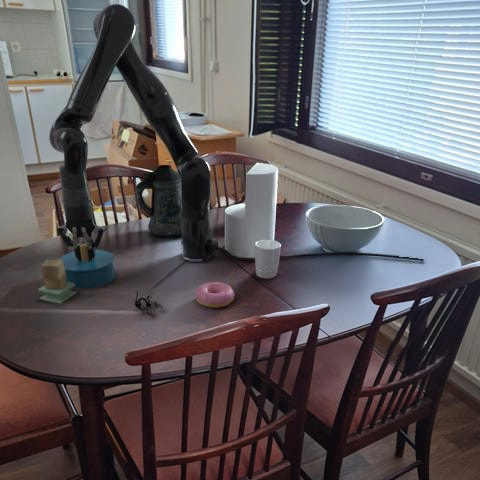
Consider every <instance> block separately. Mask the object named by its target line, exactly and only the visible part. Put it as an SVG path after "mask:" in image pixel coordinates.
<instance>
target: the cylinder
mask: <svg viewBox="0 0 480 480" xmlns="http://www.w3.org/2000/svg"><path fill="white" fill-rule="evenodd" d="M278 179H279V168H278V167H277V166H276V165H273V164H270V163H264V162H256V163H255V164H254V165H253V166H252V167H251V168H250V169H249V170H248V171H247V172H246V173H245V192H246V195H244V196H245V197H244V198H245V199H244V201H245V204H242V203H238V204H237V203H236V204H232V205H229V206H227V207H226V208H225V209H224V249H225V250H227V251H228V252H229V253H230V254H231V255H233V256H236V257H241V258H255V243H256V242H257V241H260V240H274V241H275V232H276V231H275V230H276V215H277V214H276V213H277V197H278V182H279V181H278Z"/></svg>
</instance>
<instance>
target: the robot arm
mask: <svg viewBox="0 0 480 480" xmlns="http://www.w3.org/2000/svg"><path fill="white" fill-rule="evenodd" d="M92 29H93V34H94V36H95V39H96V40H97V41H96V43H95V45H94V49H93V51H92V53H91V55H90V56H89V59H88V60H87V62H86V64H85V65H84V68H83V69H82V71H81V73H80V74H79V76H78V77H77V79H76V81H75V83H74V86H73V88H72V91H71V92H70V95H69V98H68V99H67V102H66V105H65V107H64V108H63V109H62V110H61V111H60V113H59V115H57V118H56V119H55V120H54V121H53V124H52V125H51V128H50V130H49V133H48V134H49V135H48V141H49V144H50V146H51V147H52V149H54V150H55V151H57V152H59V153H63V163H62V164H60V165H59V168H58V172H59V173H58V174H59V178H60V179H59V181H60V185H61V198H62V204H63V211H64V217H65V223H64V224H62V225H59V226H58V227H57V230H56V231H57V233H58V234H59V235H60V237H61V238H62V240H63V242H64V244H65V245H66V246H67V247H70V248H73V252H75V257H76V258H78V260H81V255H80V249H79V245H80V244H81V243H80V242H81V238H84V241H85V243H86V244H87V245H88V248H89V249H88V252H89V259H90V260H93V259H94V258H95V250H96V248H98V247H99V246H100V245H101V243H102V239H103V236H104V234H105V232H106V231H105V230H106V227H105V226H103V225H102V226H100V225H98V224H97V223H96V221H95V219H94V210H93V203H92V197H91V191H90V187H89V182H88V181H89V180H88V174H87V164H88V155H89V143H88V140H87V137H86V135H85V132H83V131H82V127H83V126H84V125H86V124H89V123H91V122H92V120H93V119H94V117H95V114H96V112H97V109H98V107H99V105H100V102H101V100H102V97H103V95H104V93H105V90H106V87H107V85H108V83H109V81H110V78H111V76H112V74H113V73H114V70H115V68H116V69H117V70H118V72H119V73H120V75H121V78H122V79H123V81H124V83H125V85H126V87H127V88H128V90H129V92H130V93H131V95H132V97H133V99H134V100H135V102H136V104H137V106H138V108H139V109H140V111H141V112H142V114H143V117H145V120H146V121H147V123H148V124H149V126H150V127H151V128H152V130H153V131H154V132H155V134H156V135H157V137H158V138H159V139H160V141H161V142H162V143H163V144H164V146H165V148H166V149H167V151H168V153H169V155H170V157H171V159H172V161H173V163H174V165H175V168H176V170H177V171H176V172H177V173H179V175H180V177H181V200H180V204H181V228H182V238H181V241H180V245H181V247H182V248H181V250H182V253H181V254H182V255H181V256H182V259H184V260H185V261H186V262H188V263H189V262H190V263H206V262H207V261H208V260H210V259H211V258H212V257H213V255H214V254H215V253H216V252H218V251H221V252H222V253H225V254H226V255H227V256H228V257H229V258H231V259H234V260H239V261H247V262H248V261H250V262H252V261H253V262H255V258H241V257H236V256H233V255H231V254H230V253H229V252H228V251H227V250H225V248H223V247H221V246H219V240H214V239H213V229H212V228H210V227H211V225H210V224H211V223H210V222H211V221H210V203H211V197H212V170H211V167H210V165H209V163H208V162H207V161H206V160H205V159H204V157H203V156H202V155H201V153H200V152H199V151H198V150H197V149H196V147H195V146H194V144H193V142H192V141H191V140H190V137H189V136H188V134H187V132H186V129H185V127H184V124H183V121H182V118H181V115H180V112H179V111H178V109H177V106H176V105H175V102H174V100H173V98H172V97H171V95H170V93H169V91H168V90H167V88H166V86H165V85H164V83H163V82H162V81H161V80H160V78H159V77H158V76H157V75H156V74H155V73H154V72H153V71H152V70H151V69H150V68H149V67H148V66H147V65H146V64H145V63H144V61H143V60H142V59H141V57H140V55H139V54H138V52H137V50H136V48H135V46H134V44H133V42H132V40H133V39H134V37H135V34H136V31H137V25H136V19H135V17H134V14H133V13H132V12H131V10H130V9H129V8H127V6H125V5H123V4H119V3H113V4H109V5H107V6H106V7H104V8H103V9H101V10H100V11H98V13H96V15H95V16H94V18H93V22H92ZM68 231H69V232H70V233H71V234H72V237H71V236H70V233H69V232H68ZM94 231H95V234H96V237H95V241H94V236H93V232H94ZM324 256H325V257H326V256H363V257H378V258H390V259H391V258H392V259H402V260H411V261H420V262H421V261H422V262H424V260H425V258H424V259H418V258H419V257H417V258H409V257H410V256H407V257H399V256H400V255H398V254H397V255H396V254H388V253H387V254H386V253H385V254H384V253H374V252H373V253H372V252H356V253H352V252H348V253H341V252H335V253H329V252H316V253H313V252H312V253H301V254H289V255H280V257H279V260H285V259H296V258H297V259H298V258H308V257H324Z"/></svg>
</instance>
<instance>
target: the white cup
mask: <svg viewBox="0 0 480 480" xmlns="http://www.w3.org/2000/svg"><path fill="white" fill-rule="evenodd" d="M281 247H282V244H281V242H279V241H277V240H275V239H274V240H260V241H257V242H256V243H255V261H254V264H255V265H254V266H255V275H256V276H257V277H259V278H262V279H273V278H276V277H277V276H278V270H279V269H278V268H279V265H280V259H279V257H280V256H281Z"/></svg>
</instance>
